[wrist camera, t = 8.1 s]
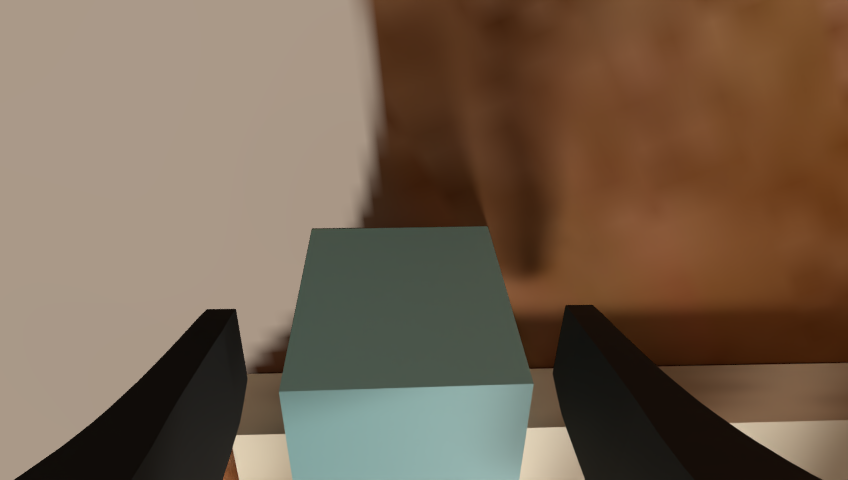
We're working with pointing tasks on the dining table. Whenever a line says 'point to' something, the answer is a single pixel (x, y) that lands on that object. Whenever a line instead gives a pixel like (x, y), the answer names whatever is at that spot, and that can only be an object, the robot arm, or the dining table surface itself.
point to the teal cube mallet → (404, 359)
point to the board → (550, 443)
